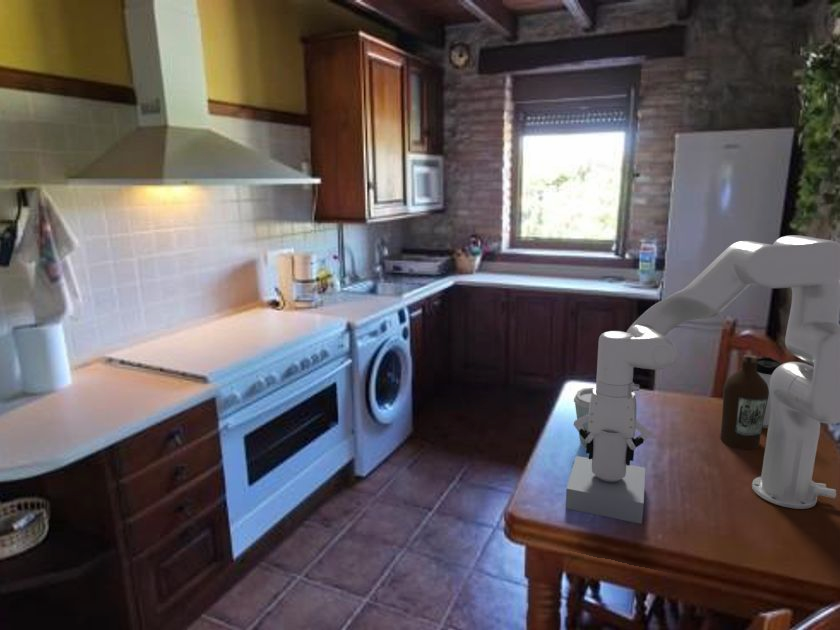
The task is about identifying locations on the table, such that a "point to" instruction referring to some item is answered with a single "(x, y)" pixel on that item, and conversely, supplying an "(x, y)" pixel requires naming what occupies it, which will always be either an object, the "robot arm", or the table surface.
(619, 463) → the can
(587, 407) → the disposable coffee cup
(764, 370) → the travel mug
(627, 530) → the table surface
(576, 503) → the grey block
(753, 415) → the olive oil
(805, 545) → the table surface
